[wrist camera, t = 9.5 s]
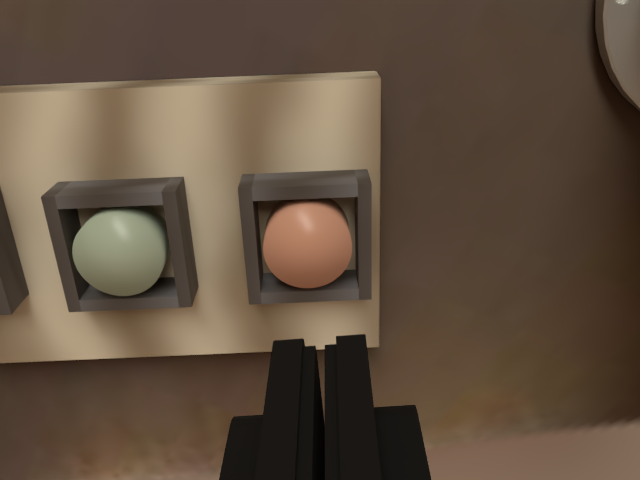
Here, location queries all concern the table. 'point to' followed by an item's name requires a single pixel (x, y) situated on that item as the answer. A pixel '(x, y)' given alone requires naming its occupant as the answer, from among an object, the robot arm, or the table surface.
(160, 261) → the sage button
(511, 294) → the table surface
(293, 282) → the terracotta button
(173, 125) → the button panel
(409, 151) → the table surface
